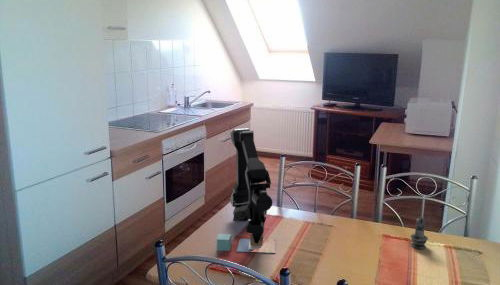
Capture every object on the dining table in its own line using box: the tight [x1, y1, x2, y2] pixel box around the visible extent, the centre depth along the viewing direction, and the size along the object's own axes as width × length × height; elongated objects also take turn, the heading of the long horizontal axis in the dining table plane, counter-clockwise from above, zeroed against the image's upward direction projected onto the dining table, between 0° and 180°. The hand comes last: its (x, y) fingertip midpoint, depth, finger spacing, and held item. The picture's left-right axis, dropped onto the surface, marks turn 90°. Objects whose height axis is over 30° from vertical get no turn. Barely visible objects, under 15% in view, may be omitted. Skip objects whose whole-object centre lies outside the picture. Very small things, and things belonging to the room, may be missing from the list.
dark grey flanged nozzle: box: [410, 215, 429, 251], centre depth 151 cm, size 6×6×12 cm
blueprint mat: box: [236, 238, 261, 253], centre depth 154 cm, size 10×14×1 cm
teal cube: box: [216, 233, 232, 252], centre depth 152 cm, size 4×4×4 cm
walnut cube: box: [249, 233, 264, 246], centre depth 153 cm, size 4×4×4 cm
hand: (257, 240), depth 153 cm, fingers closed on walnut cube, 4 cm apart
